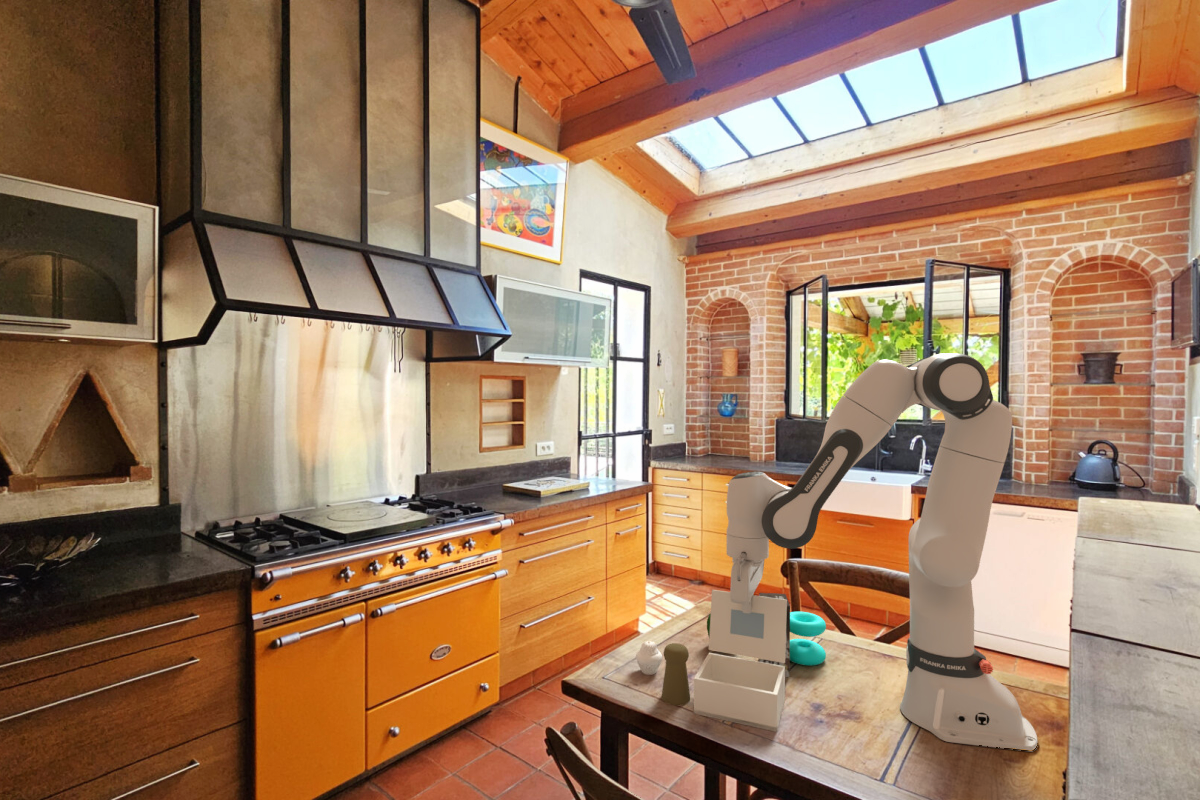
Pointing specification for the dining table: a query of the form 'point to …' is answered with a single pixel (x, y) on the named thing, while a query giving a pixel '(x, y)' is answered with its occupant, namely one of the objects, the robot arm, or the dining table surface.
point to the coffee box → (787, 652)
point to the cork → (676, 675)
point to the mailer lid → (748, 627)
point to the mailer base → (740, 691)
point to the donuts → (803, 648)
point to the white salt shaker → (649, 658)
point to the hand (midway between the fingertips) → (747, 611)
